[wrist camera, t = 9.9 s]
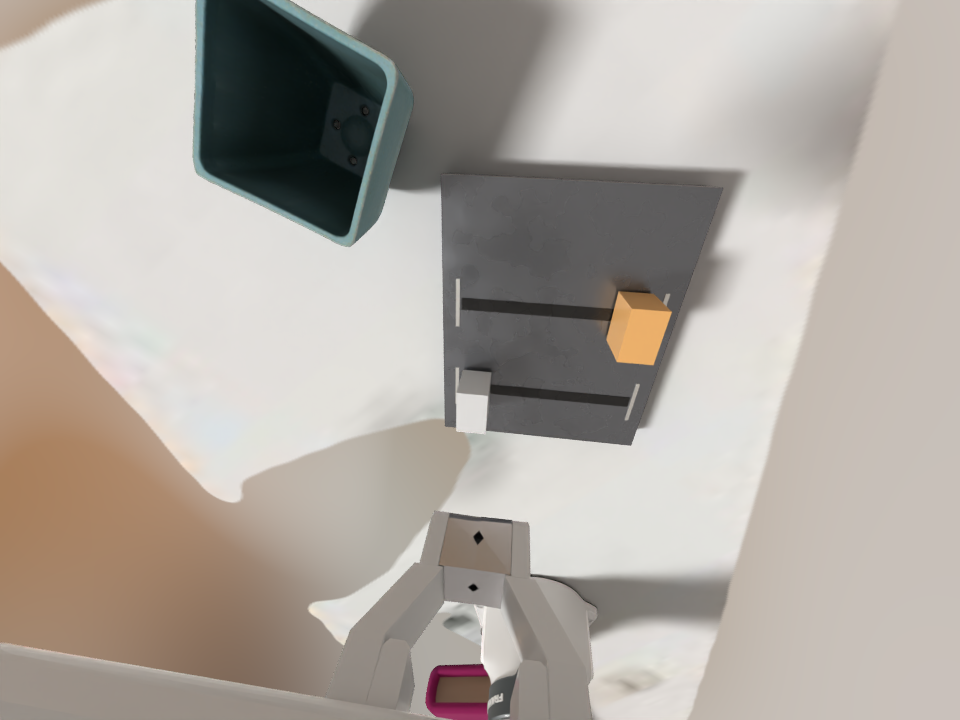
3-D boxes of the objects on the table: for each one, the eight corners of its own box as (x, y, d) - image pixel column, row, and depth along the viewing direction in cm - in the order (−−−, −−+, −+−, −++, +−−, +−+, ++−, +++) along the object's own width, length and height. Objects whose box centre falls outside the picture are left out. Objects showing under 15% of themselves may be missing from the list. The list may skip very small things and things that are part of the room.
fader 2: (638, 342, 27) (653, 365, 24) (606, 339, 27) (616, 362, 24) (653, 293, 25) (672, 311, 22) (618, 291, 25) (631, 308, 22)
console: (625, 431, 34) (631, 446, 32) (448, 413, 35) (444, 426, 34) (708, 186, 23) (723, 187, 21) (446, 173, 24) (440, 173, 23)
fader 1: (488, 408, 32) (485, 434, 29) (462, 406, 32) (456, 431, 29) (491, 372, 30) (487, 395, 27) (463, 369, 30) (456, 392, 27)
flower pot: (442, 98, 22) (400, 63, 15) (400, 226, 27) (350, 251, 19) (313, 23, 21) (193, -58, 13) (291, 170, 25) (190, 173, 18)
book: (480, 715, 82) (477, 763, 75) (431, 664, 69) (421, 716, 63) (567, 716, 76) (572, 768, 69) (530, 661, 64) (531, 718, 57)
